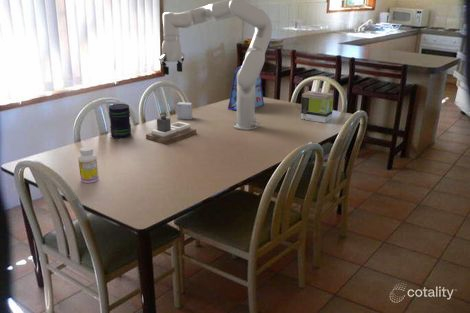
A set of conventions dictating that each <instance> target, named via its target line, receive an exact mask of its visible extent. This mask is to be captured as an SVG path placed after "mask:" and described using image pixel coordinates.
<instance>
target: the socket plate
mask: <svg viewBox="0 0 470 313" xmlns="http://www.w3.org/2000/svg"><path fill="white" fill-rule="evenodd" d="M170 124H171V130H170V131H167V132H162V131H158V130H157V128H154V129H152V130H151V133H152V135H153V136H156V137H160V138H166V137H169V136H172V135H175V134H177V133H180V132H183V131H186V130H189V129H190V128H191V123H188V122H184V121H180V120H179V121H176V122H173V123H170Z"/></svg>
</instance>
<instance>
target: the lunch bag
mask: <svg viewBox="0 0 470 313" xmlns="http://www.w3.org/2000/svg"><path fill="white" fill-rule="evenodd" d="M241 67H242V65H240V66H238V67H236V69H235V71H234V74H233V79H232V84H231V89H230V95H229V103H228V106H227V109H228V110H229V111H230V110H236V111H237V72H238V70H239V69H240V68H241ZM264 104H265V101H264V95H263V89H262V76H261V73H260V74H259V77H258V79H257V81H256V83H255V109H257V108H259V107H262V106H264Z"/></svg>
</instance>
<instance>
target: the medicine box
mask: <svg viewBox="0 0 470 313" xmlns="http://www.w3.org/2000/svg"><path fill="white" fill-rule="evenodd" d="M176 115H177V116H176V118H177V120H192V119H193V103H192V102H181V101H179V102H178V103H176Z"/></svg>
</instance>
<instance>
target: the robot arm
mask: <svg viewBox="0 0 470 313" xmlns="http://www.w3.org/2000/svg"><path fill="white" fill-rule="evenodd" d="M234 17H236V18H238V19H239V20H241V21H243V22H245V23H246V24H248V25H250V26H251V27H253V28H254V32H253V35H252V38H251V42H250V43H249V46H248V48H247V50H246V51H245V55H244V60H243V61H242V65H241V66H242V67H241V68H240V69H239V70H238V72H237V110H236V122H234V123H233V127H234V128H235V129H236V130H243V131H249V130H254V129H255V130H256V129H257V128H259V127H260V126H261V122H259V121H257V118H255V117H256V114H255V113H256V108H255V83H256V81H257V79H258V77H259V74H260V75H261V72H262V69H263V67H264V64H265V61H266V56H265V55H266V52H267V49H268V47H269V44H270V42H271V38H272V35H273V25H272V20H271V18H270V16H269V14H267V12H266V11H265V10H264V9H262V8H260V7H258V6H256V5H254V4H252V3H250V2H249V1H247V0H219V1H216V2H215V1H214V2H211V3H209V4H206V5H204V6H200V7H197V8H193V9H189V10H186V11H183V12H175V11H166V12H163V13H162V24H163V25H162V26H163V27H162V30H163V41H162V46H161V56H160V57H159V58H158V60H159V62H160V64H161V66H162V70H163V75H169V74H170V70H169V64H170V63H174V62H176V72H179V73H182V72H183V64H184V60H185V57H186V54H185V53H183V51H182V45H181V41H180V29H189V28H191V27H192V26H193V27H194V26H196V25H199V24H203V23H208V22H209V23H210V22H218V21H223V20H225V19H229V18H230V19H231V18H234ZM179 28H180V29H179Z"/></svg>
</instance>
